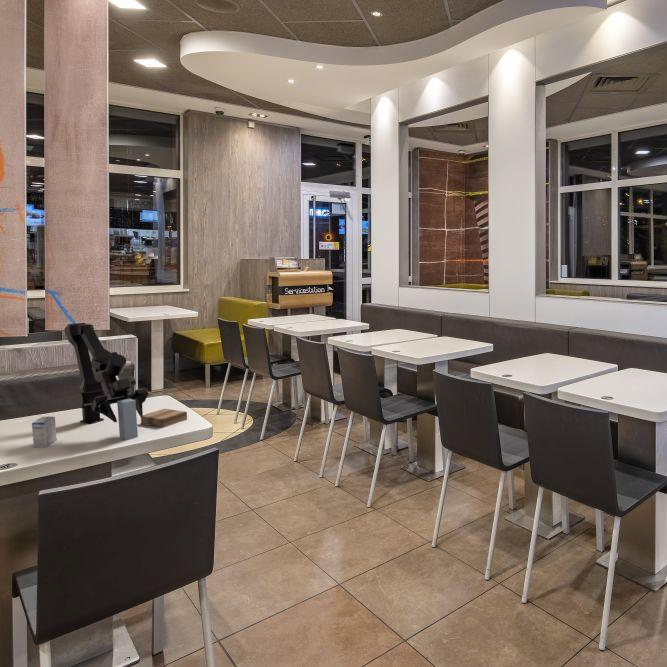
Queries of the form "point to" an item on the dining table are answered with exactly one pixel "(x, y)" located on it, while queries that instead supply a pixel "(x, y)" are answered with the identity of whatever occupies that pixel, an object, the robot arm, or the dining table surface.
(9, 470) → the dining table surface
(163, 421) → the walnut plinth
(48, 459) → the dining table surface
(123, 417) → the pillar block
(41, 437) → the medicine box
